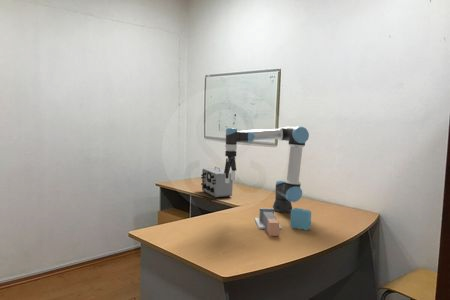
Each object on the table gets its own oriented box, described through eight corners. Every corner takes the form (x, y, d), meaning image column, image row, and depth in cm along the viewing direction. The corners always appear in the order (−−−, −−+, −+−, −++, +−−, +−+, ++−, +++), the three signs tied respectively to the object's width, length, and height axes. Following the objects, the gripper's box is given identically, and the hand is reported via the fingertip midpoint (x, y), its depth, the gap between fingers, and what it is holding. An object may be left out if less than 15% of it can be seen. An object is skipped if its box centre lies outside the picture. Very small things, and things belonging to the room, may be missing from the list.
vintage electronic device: (200, 191, 313) (200, 165, 311) (217, 190, 320) (218, 164, 318) (213, 199, 284) (213, 170, 282) (232, 197, 292) (232, 169, 290)
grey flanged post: (274, 220, 228) (275, 206, 227) (282, 231, 204) (283, 216, 203) (254, 219, 227) (255, 206, 226) (259, 231, 203) (260, 215, 202)
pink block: (276, 231, 203) (276, 219, 202) (278, 235, 195) (279, 223, 194) (266, 231, 203) (267, 218, 202) (269, 235, 195) (269, 222, 194)
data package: (310, 229, 210) (311, 210, 209) (308, 231, 206) (309, 212, 205) (292, 225, 217) (293, 207, 215) (290, 227, 213) (290, 209, 212)
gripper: (230, 149, 239) (230, 178, 241) (219, 151, 215) (219, 184, 217) (241, 149, 236) (240, 178, 238) (230, 152, 213) (230, 184, 215)
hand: (230, 181), depth 228 cm, fingers open, 13 cm apart
